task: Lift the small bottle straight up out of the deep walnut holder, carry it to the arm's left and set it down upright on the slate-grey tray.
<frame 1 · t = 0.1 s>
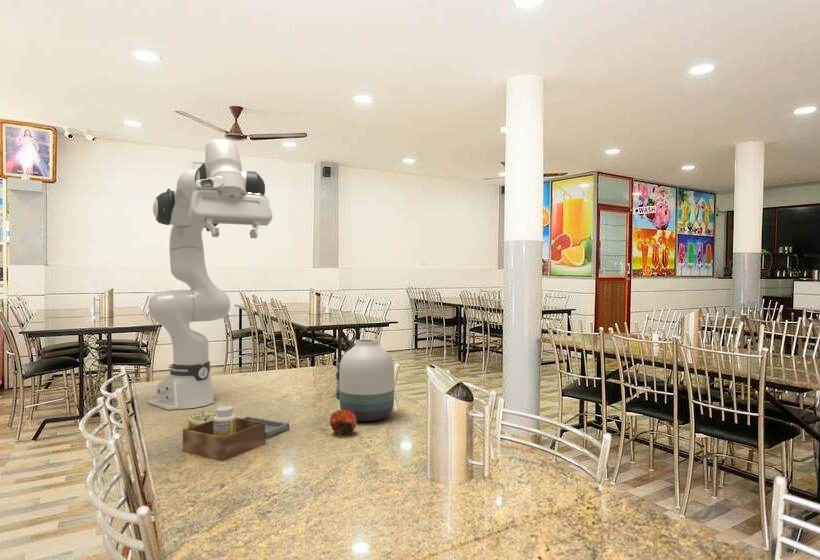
hand: (235, 236, 130), 54 cm above the table, tool tilted 30°, fingers open, 8 cm apart
decorated donut: (207, 427, 152), on the table
vase: (366, 418, 161), on the table
holder: (224, 447, 134), on the table
pomegranate: (343, 435, 144), on the table
tray: (255, 430, 148), on the table
supplement container: (350, 397, 187), on the table
supplement bottle: (224, 448, 134), resting in holder
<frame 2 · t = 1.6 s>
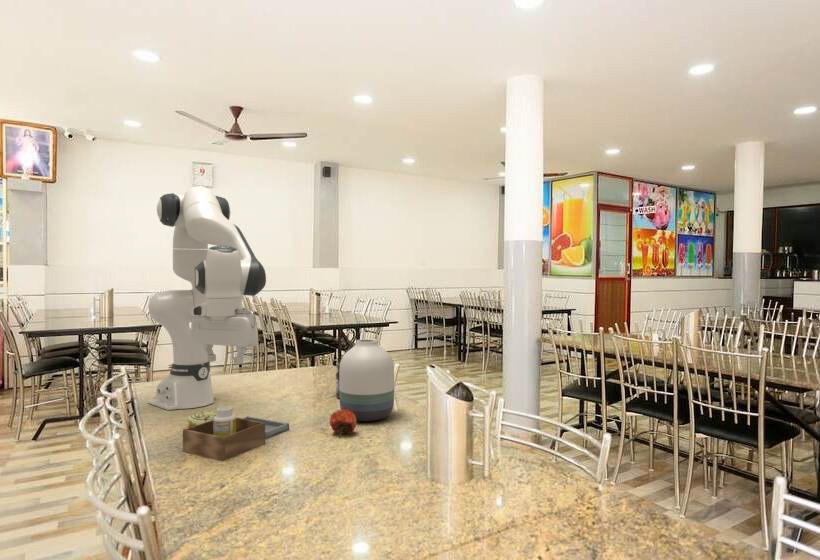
hand: (224, 362, 133), 22 cm above the table, tool pointing down, fingers open, 8 cm apart
nothing on the table moved.
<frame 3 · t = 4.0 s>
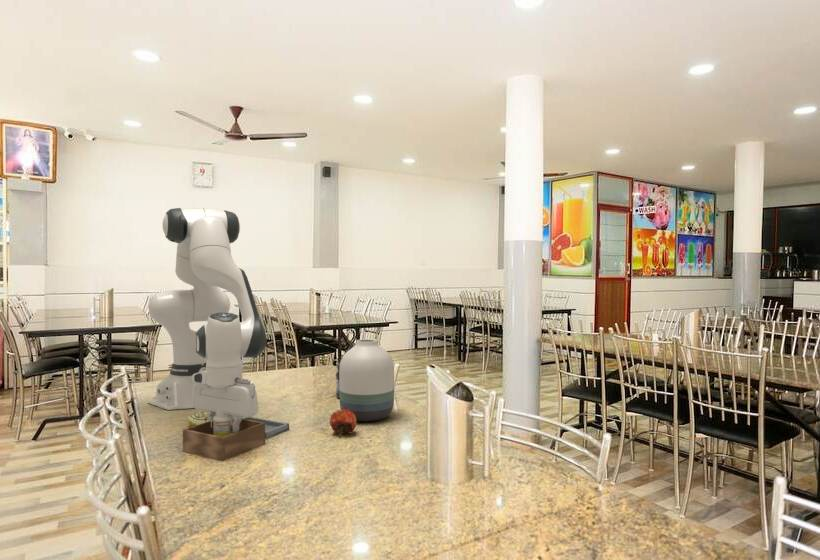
hand: (224, 429, 134), 5 cm above the table, tool pointing down, fingers closed on supplement bottle, 5 cm apart
supplement bottle: (224, 448, 134), resting in holder, touching gripper
everything else where it was.
when the fingers open (7 cm above the table, at t = 9.2 s): supplement bottle stays where it is, resting on tray.
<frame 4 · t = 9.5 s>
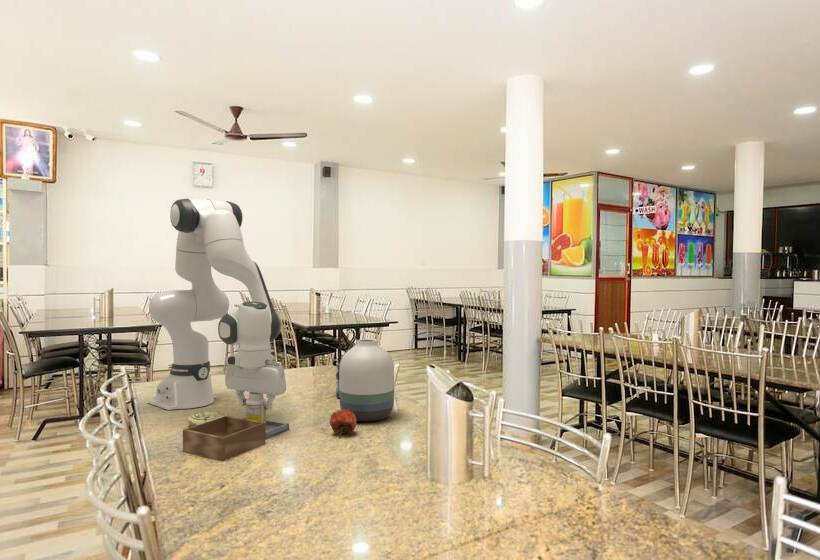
hand: (255, 407, 147), 7 cm above the table, tool pointing down, fingers open, 8 cm apart
supplement bottle: (255, 428, 148), resting on tray
everything else where it was.
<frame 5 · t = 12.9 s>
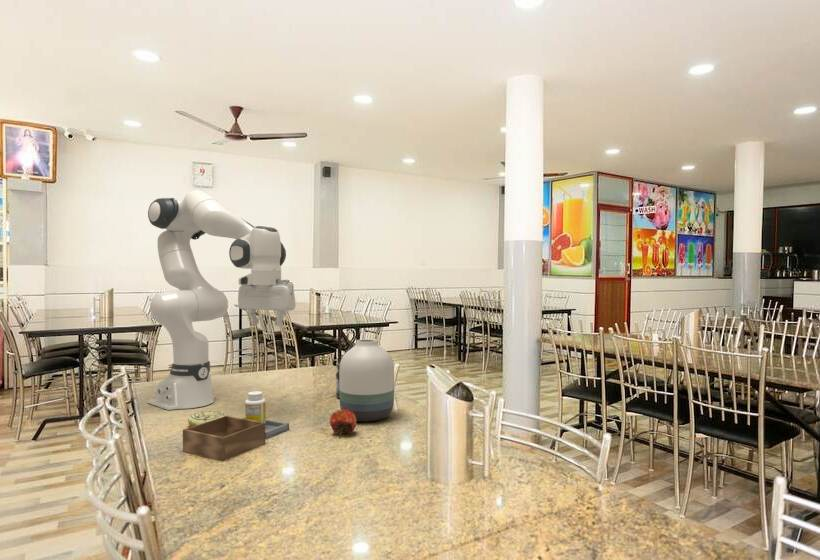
hand: (266, 324, 158), 29 cm above the table, tool pointing down, fingers open, 8 cm apart
nothing on the table moved.
at the end: supplement bottle inside the target area on the tray (0.1 cm from its centre), point 0.4 cm above the tray's base; supplement bottle tilted 0°; the gripper is holding nothing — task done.
